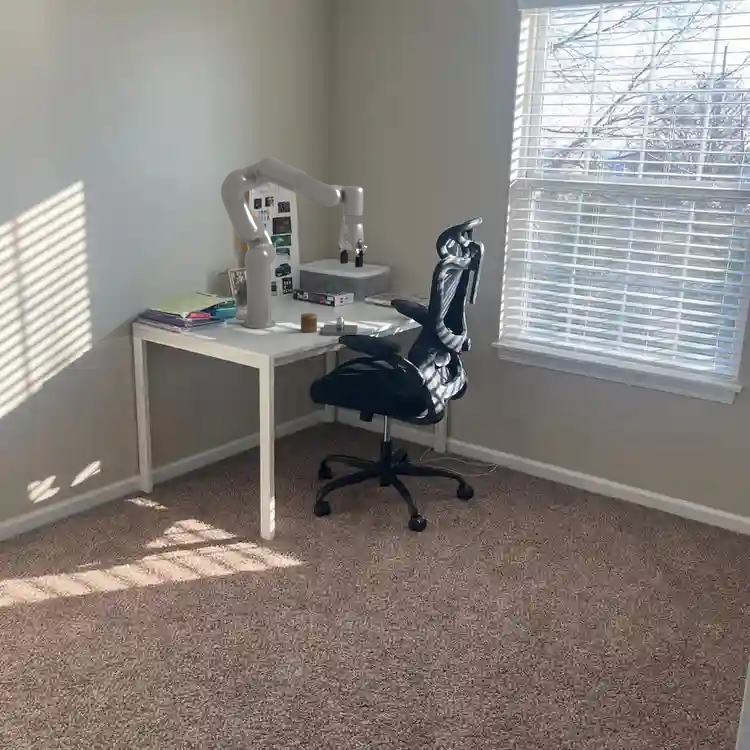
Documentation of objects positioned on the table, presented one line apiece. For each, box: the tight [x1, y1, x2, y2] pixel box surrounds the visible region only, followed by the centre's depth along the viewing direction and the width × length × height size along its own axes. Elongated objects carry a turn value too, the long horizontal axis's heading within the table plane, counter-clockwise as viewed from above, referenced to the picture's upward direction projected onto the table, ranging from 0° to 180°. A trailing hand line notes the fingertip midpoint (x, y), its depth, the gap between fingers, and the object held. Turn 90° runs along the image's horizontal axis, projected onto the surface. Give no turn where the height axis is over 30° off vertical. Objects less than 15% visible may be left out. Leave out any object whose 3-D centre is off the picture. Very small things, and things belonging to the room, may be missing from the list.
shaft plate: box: [321, 315, 358, 337], centre depth 316 cm, size 13×13×6 cm
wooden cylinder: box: [300, 312, 318, 334], centre depth 316 cm, size 6×6×6 cm
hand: (351, 265), depth 314 cm, fingers open, 9 cm apart
